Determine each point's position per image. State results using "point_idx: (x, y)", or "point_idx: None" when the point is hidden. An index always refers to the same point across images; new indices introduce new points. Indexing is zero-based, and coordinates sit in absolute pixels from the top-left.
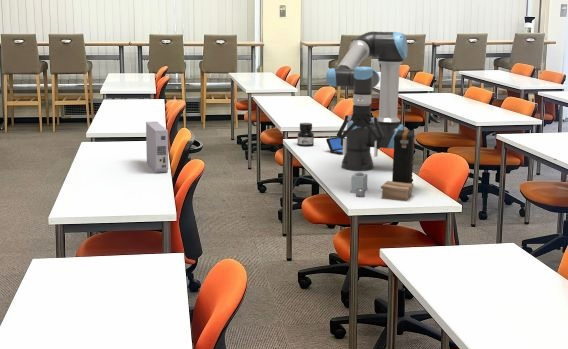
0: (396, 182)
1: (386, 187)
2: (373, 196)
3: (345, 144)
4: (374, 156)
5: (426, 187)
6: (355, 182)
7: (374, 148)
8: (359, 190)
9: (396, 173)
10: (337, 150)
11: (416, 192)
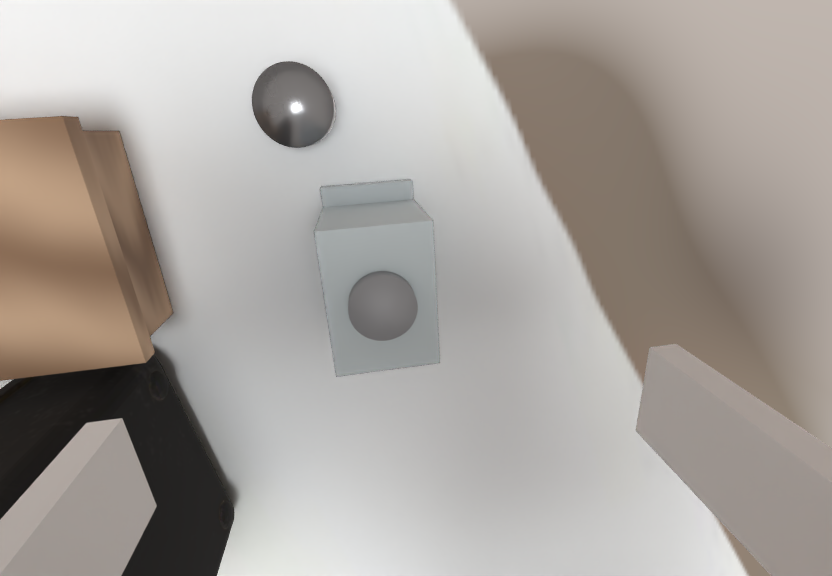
0: (43, 352)
1: (2, 120)
2: (208, 156)
3: (784, 509)
4: (110, 423)
5: None
6: (385, 213)
7: (1, 571)
8: (286, 62)
9: (29, 440)
10: None
11: None
